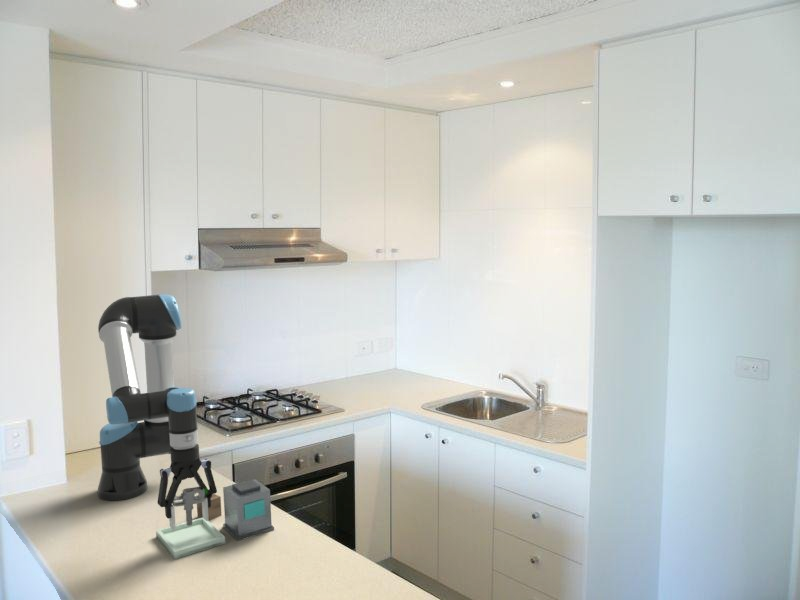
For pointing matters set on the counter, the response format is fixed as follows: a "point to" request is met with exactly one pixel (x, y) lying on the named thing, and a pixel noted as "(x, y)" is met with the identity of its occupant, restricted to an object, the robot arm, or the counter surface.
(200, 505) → the walnut block
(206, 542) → the tray
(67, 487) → the counter surface
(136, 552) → the counter surface
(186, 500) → the mechanical component
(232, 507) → the unit
